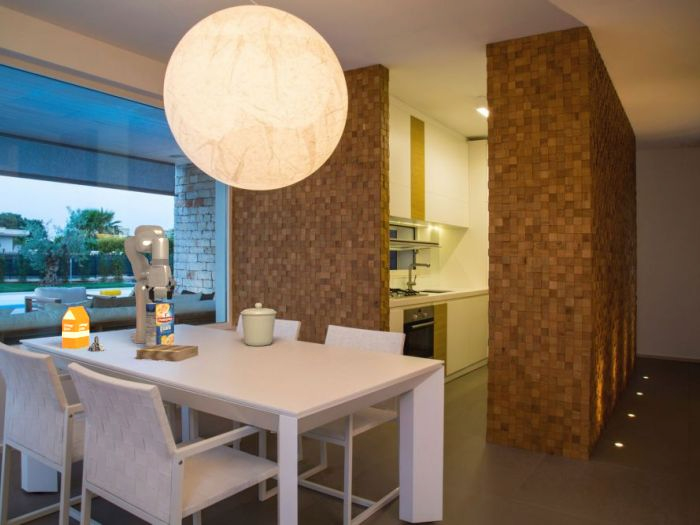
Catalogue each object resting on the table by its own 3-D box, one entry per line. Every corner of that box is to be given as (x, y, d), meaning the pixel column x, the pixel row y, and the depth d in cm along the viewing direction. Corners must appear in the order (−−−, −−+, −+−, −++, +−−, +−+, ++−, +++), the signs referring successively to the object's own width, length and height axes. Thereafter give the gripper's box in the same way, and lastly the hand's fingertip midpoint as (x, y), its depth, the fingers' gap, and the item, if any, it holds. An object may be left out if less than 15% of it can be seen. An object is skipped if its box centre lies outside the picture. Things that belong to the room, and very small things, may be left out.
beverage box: (145, 350, 255) (145, 303, 254) (164, 347, 264) (164, 302, 264) (156, 352, 251) (156, 304, 251) (174, 348, 261) (174, 302, 261)
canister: (280, 342, 282) (280, 301, 281) (271, 348, 264) (271, 304, 263) (246, 341, 283) (246, 301, 283) (235, 347, 265) (235, 304, 265)
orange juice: (61, 349, 257) (61, 307, 257) (76, 347, 265) (76, 305, 265) (75, 350, 254) (75, 307, 254) (89, 347, 263) (89, 306, 263)
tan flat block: (136, 359, 233) (136, 349, 233) (159, 353, 249) (159, 343, 249) (177, 361, 228) (177, 351, 228) (198, 355, 243) (198, 345, 243)
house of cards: (76, 354, 247) (76, 337, 247) (90, 351, 256) (90, 334, 256) (92, 355, 245) (92, 338, 245) (106, 352, 253) (106, 335, 253)
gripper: (139, 263, 256) (139, 299, 256) (171, 262, 251) (171, 300, 251) (149, 263, 263) (149, 298, 263) (181, 263, 259) (181, 299, 258)
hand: (160, 299), depth 257 cm, fingers open, 9 cm apart
